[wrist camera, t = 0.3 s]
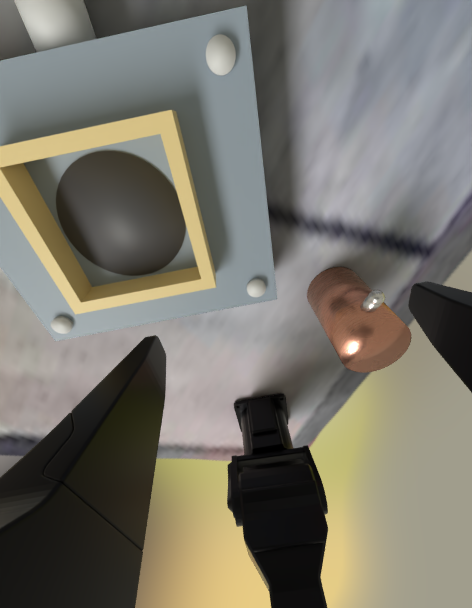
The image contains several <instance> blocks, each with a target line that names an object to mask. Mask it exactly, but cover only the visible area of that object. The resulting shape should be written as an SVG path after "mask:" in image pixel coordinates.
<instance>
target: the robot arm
mask: <svg viewBox="0 0 472 608" xmlns="http://www.w3.org/2000/svg"><path fill="white" fill-rule="evenodd" d="M409 309H410V311H411V313H412V314H413V316H414V318H415V319H416V321H417V322H418V324H419V325H420V327H421V328H422V330H423V331H424V333H425V334H426V336H427V337H428V339H429V340H430V342H431V343H432V345H433V346H434V347H435V348H436V350H437V351H438V352H439V353H440V355H441V356H442V357H443V358H444V359H445V361H446V362H447V363H448V364H449V366H450V367H451V368H452V369H453V370H454V372H455V373H456V374H457V375H458V376H459V377H460V379H461V380H462V381H463V382H464V384H465V385H466V386H467V387H468V388H469V390H470V391H471V392H472V292H467V291H464V290H459V289H456V288H451V287H447V286H443V285H439V284H435V283H431V282H421V283H416V284H414V285H413V286H412V289H411V294H410V299H409ZM165 388H166V354H165V351H164V349H163V346H162V344H161V342H160V340H159V338H158V337H157V336H156V335H155V336H150V337H145V338H144V339H143V340H142V341H141V342H140V343H139V344H138V345H137V346H136V347H135V348H134V349H133V350H132V351H131V352H130V353H129V354H128V355H127V356H126V357H125V358H124V359H123V360H122V361H121V362H120V363H119V364H118V365H117V366H116V367H115V368H114V369H113V370H112V371H111V372H110V373H109V374H108V375H107V376H106V377H105V378H104V379H103V380H102V381H101V382H100V383H99V384H98V385H97V386H96V387H95V388H94V389H93V390H92V391H91V392H90V393H89V394H88V395H87V396H86V397H85V398H84V399H83V400H82V401H81V402H80V403H79V404H78V405H77V406H76V407H75V408H74V409H73V410H72V413H69V414H68V415H67V416H66V417H65V418H64V419H63V420H62V421H61V422H60V423H59V424H58V425H57V426H56V427H55V428H54V429H53V430H52V431H51V432H50V433H49V434H48V435H47V436H46V437H45V438H44V439H42V440H41V441H40V442H39V443H38V444H37V445H36V446H35V447H34V448H33V449H31V450H30V451H29V452H28V453H27V454H26V455H25V456H24V457H23V458H22V459H20V460H19V461H18V462H17V463H16V464H15V465H14V466H13V467H12V468H10V469H9V470H8V471H7V472H6V473H5V474H4V475H2V476H1V477H0V608H135V603H136V597H137V590H138V582H139V575H140V568H141V562H142V555H143V552H142V550H143V547H144V540H145V533H146V526H147V519H148V512H149V505H150V499H151V492H152V485H153V478H154V471H155V464H156V457H157V450H158V443H159V437H160V430H161V423H162V416H163V409H164V402H165ZM234 409H235V412H236V415H237V419H238V422H239V426H240V429H241V432H242V436H243V445H244V455H241V456H237V455H235V456H232V462H231V463H230V464H229V465H228V498H227V504H228V508H229V509H230V510H231V511H232V512H233V516H234V518H235V520H236V525H237V526H243V534H244V540H245V544H246V547H247V551H248V554H249V556H250V558H251V560H252V562H253V563H254V565H255V567H256V569H257V570H258V572H259V574H260V576H261V578H262V579H263V581H264V583H265V585H266V586H267V588H268V590H269V592H270V600H271V608H327V604H326V600H325V596H324V592H323V588H322V583H321V578H320V576H321V569H322V563H323V557H324V551H325V545H326V539H327V532H328V527H327V522H326V518H325V514H327V513H328V509H327V501H326V496H325V491H324V487H323V484H322V481H321V478H320V475H319V473H318V471H317V468H316V465H315V463H314V460H313V458H312V455H311V453H310V450H309V448H308V445H307V446H303V447H299V448H293V445H292V441H291V437H290V433H289V430H288V426H287V425H288V416H287V407H286V398H285V395H284V394H277V395H271V396H266V397H260V398H255V399H249V400H243V401H238V402H235V403H234Z"/></svg>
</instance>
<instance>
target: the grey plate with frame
mask: <svg viewBox="0 0 472 608" xmlns="http://www.w3.org/2000/svg"><path fill="white" fill-rule="evenodd" d="M14 2H15V4H16V6H17V9H18V11H19V13H20V15H21V18H22V20H23V22H24V24H25V27H26V29H27V31H28V34H29V36H30V38H31V40H32V43H33V45H34V47H35V50H36V53H32V54H27V55H23V56H19V57H14V58H10V59H5V60H1V61H0V268H1V269H2V270H3V272H4V273H5V274H6V276H7V277H8V278H9V280H10V281H11V282H12V284H13V285H14V286H15V288H16V289H17V290H18V292H19V293H20V295H21V296H22V297H23V299H24V300H25V301H26V303H27V304H28V305H29V307H30V308H31V309H32V311H33V312H34V313H35V315H36V316H37V317H38V319H39V320H40V321H41V323H42V324H43V325H44V327H45V328H46V330H47V331H48V332H49V334H50V335H51V336H52V338H53V339H54V340H55V341H59V340H65V339H70V338H75V337H81V336H86V335H91V334H96V333H102V332H107V331H112V330H117V329H123V328H128V327H133V326H139V325H144V324H149V323H154V322H160V321H165V320H170V319H176V318H181V317H186V316H191V315H197V314H202V313H207V312H212V311H218V310H223V309H228V308H234V307H239V306H244V305H249V304H255V303H260V302H265V301H271V300H276V299H277V292H276V282H275V272H274V263H273V253H272V244H271V234H270V225H269V215H268V206H267V196H266V186H265V177H264V167H263V158H262V148H261V139H260V129H259V119H258V110H257V100H256V91H255V81H254V72H253V62H252V53H251V43H250V33H249V24H248V14H247V5H246V6H242V7H237V8H233V9H228V10H224V11H219V12H215V13H210V14H206V15H201V16H197V17H193V18H188V19H184V20H179V21H175V22H170V23H166V24H161V25H157V26H152V27H148V28H143V29H139V30H135V31H130V32H126V33H121V34H117V35H112V36H108V37H103V38H99V39H96V36H95V33H94V30H93V27H92V24H91V21H90V18H89V15H88V12H87V9H86V6H85V3H84V0H14Z"/></svg>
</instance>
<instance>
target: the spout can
mask: <svg viewBox="0 0 472 608" xmlns="http://www.w3.org/2000/svg"><path fill="white" fill-rule="evenodd" d="M307 298H308V301H309V303H310V305H311V307H312V309H313V311H314V312H315V314H316V316H317V318H318V320H319V321H320V323H321V325H322V327H323V329H324V330H325V332H326V334H327V336H328V338H329V339H330V341H331V343H332V345H333V347H334V348H335V350H336V352H337V354H338V356H339V357H340V359H341V361H342V363H343V364H344V366H346V367H347V368H348V369H350V370H352V371H356V372H372V371H376V370H380V369H382V368H385V367H387V366H389V365H390V364H392V363H394V362H395V361H397V360H398V359H399V358H400V357H401V356H402V355H403V354H404V353H405V352H406V350H407V349H408V347H409V345H410V342H411V332H410V330H409V328H408V327H407V326H406V325H405V324H404V323H403V322H402V321H401V320H400V319H399V317H398V316H397V315H396V314H395V313H394V312H393V311H392V310H391V309H390V308H389V307H388V306H387V305H386V304H385V303H384V300H385V295H384V293H383V292H382V291H380V290H373V291H372V290H371V289H370V288H369V287H368V286H367V285H366V284H365V283H364V282H363V281H362V280H361V279H360V278H359V277H358V276H357V275H356V273H354V272H353V271H352V270H350V269H348V268H345V267H334V268H330V269H327V270H325V271H323V272H321V273H320V274H319V275H317V276H316V277H315V278H314V279H313V281H312V282H311V284H310V286H309V288H308V292H307Z"/></svg>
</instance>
